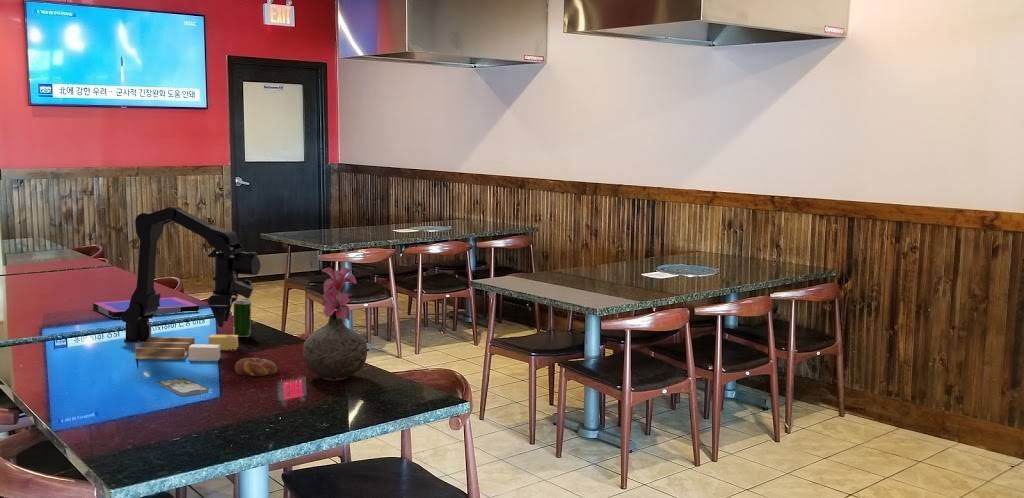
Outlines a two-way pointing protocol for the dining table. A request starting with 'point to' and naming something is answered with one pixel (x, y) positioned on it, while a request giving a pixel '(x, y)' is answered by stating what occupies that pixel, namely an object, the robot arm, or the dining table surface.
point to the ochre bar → (224, 341)
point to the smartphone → (183, 386)
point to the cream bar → (204, 352)
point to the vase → (335, 334)
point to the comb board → (165, 348)
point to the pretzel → (255, 367)
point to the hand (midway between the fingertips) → (223, 324)
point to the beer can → (242, 318)
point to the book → (165, 307)
